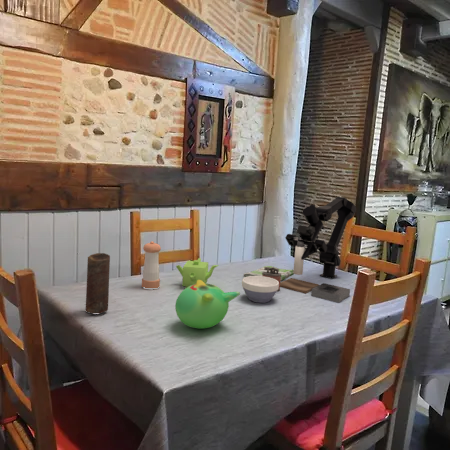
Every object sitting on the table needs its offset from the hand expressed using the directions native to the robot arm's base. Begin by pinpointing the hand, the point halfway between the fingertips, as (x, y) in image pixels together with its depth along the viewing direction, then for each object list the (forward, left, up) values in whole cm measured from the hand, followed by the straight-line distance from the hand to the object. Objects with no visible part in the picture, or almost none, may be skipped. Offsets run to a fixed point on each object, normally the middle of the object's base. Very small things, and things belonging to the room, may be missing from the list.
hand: (297, 258), depth 189 cm
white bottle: (-1, 0, -7) cm, 7 cm away
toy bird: (+62, -2, -14) cm, 63 cm away
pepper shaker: (+45, -43, -14) cm, 64 cm away
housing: (-1, +16, -13) cm, 21 cm away
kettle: (+30, -31, -14) cm, 45 cm away
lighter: (+11, -6, -14) cm, 18 cm away
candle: (+78, -35, -14) cm, 86 cm away
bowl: (+25, -3, -14) cm, 28 cm away
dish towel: (-9, -18, -14) cm, 25 cm away
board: (-3, 0, -13) cm, 14 cm away
